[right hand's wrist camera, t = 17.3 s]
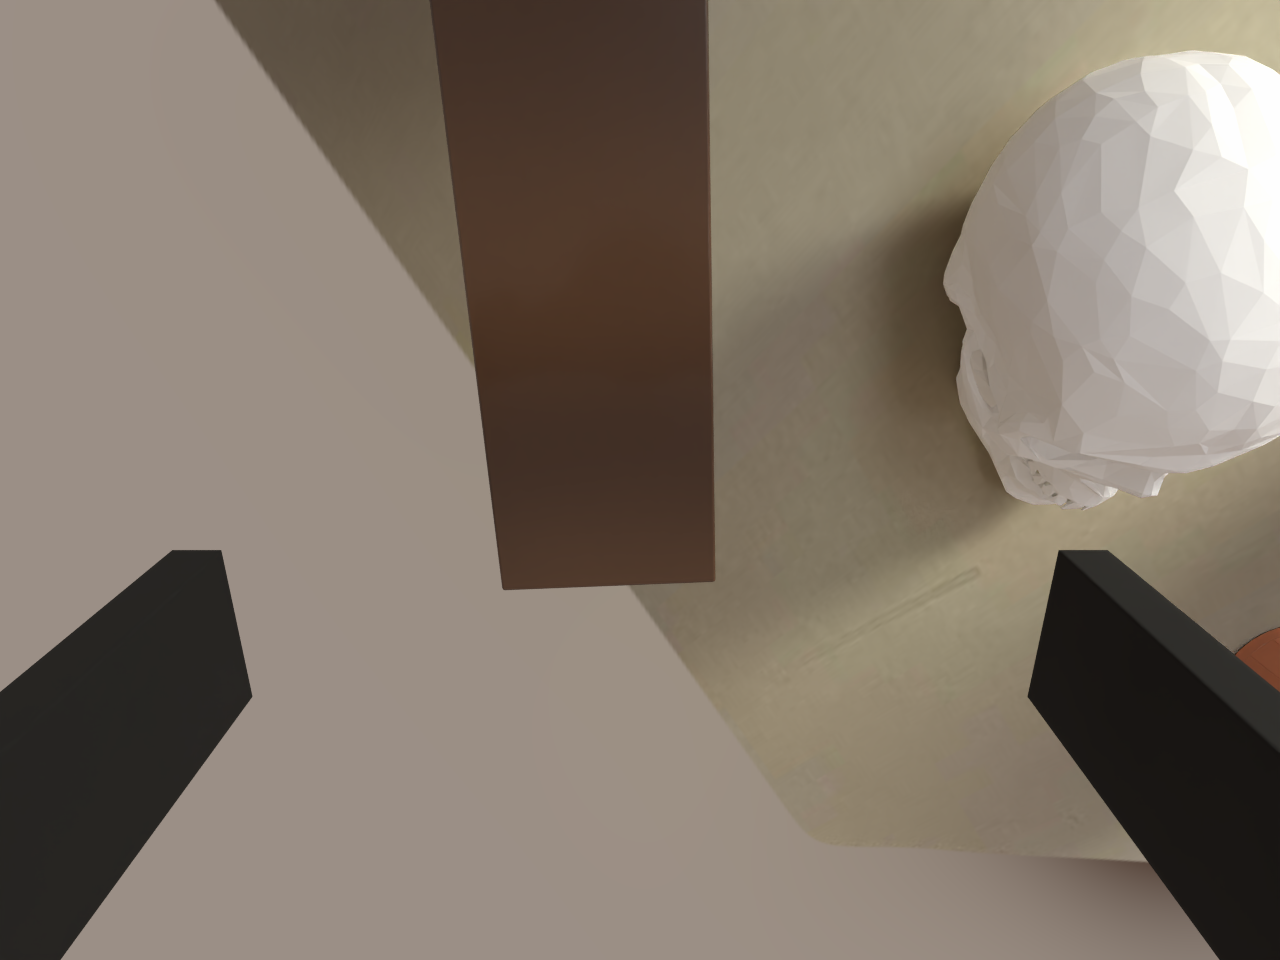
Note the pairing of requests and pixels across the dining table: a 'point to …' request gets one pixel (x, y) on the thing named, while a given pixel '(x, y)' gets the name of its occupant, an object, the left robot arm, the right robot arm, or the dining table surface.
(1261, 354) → the skull
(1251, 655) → the terracotta cup
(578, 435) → the walnut box
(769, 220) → the dining table surface
